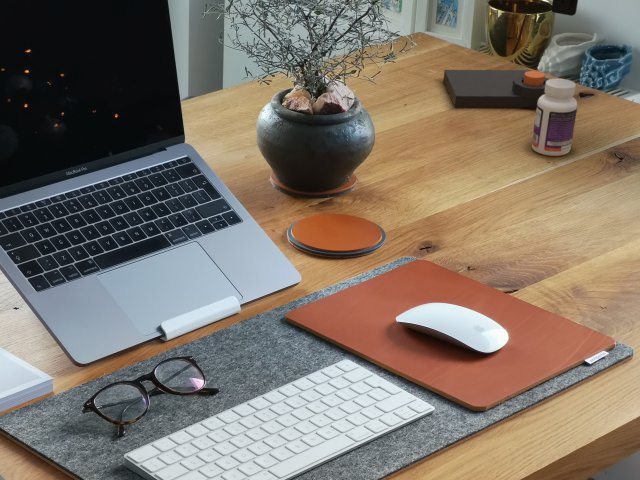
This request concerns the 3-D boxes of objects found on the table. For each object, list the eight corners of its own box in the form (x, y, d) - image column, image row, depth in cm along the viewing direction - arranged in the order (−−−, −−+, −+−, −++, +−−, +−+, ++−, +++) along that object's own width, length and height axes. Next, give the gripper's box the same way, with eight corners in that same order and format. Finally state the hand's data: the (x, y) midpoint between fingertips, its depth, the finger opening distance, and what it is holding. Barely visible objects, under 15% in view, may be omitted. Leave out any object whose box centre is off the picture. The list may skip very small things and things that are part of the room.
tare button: (540, 80, 172) (542, 70, 171) (545, 87, 169) (546, 77, 168) (521, 80, 172) (522, 70, 171) (525, 87, 169) (526, 77, 168)
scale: (535, 81, 181) (538, 60, 179) (553, 110, 169) (557, 88, 168) (443, 80, 181) (445, 60, 179) (455, 109, 170) (458, 88, 168)
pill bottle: (577, 149, 157) (588, 82, 152) (558, 160, 153) (568, 92, 148) (543, 138, 160) (553, 73, 155) (523, 149, 156) (532, 83, 151)
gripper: (605, -114, 135) (581, 25, 143) (646, -135, 147) (621, -5, 156) (546, -121, 138) (526, 15, 147) (590, -141, 150) (569, -14, 159)
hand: (575, 4), depth 151 cm, fingers open, 9 cm apart
